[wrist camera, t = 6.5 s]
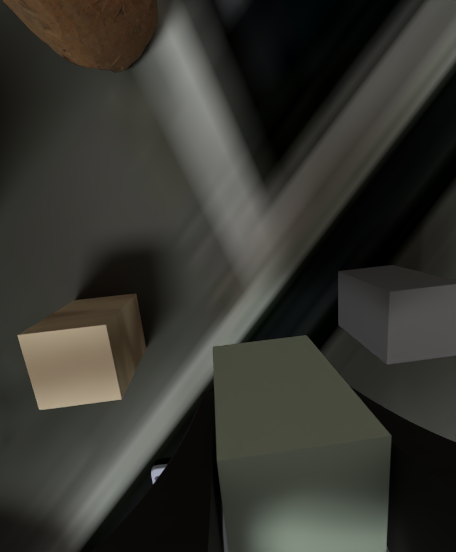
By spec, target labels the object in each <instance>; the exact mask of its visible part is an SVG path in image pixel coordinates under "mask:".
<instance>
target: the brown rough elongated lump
mask: <svg viewBox="0 0 456 552" xmlns="http://www.w3.org/2000/svg"><path fill="white" fill-rule="evenodd" d="M2 1H3V2H5V3H6V4H7V5H8V7H9V8H10V9H11V10H12V11H13V12H14V13H15V14H16V15H17V16H18V17H19V18H20V19H21V20H22V21H23V22H24V24H25V25H26V26H27V27H28V28H29V29H30V30H31V31H32V32H33V33H34V34H35V35H37V36H38V37H39V38H40V39H41V40H42V41H44V42H45V43H46V44H48V45H49V46H50V47H51V48H52V49H53V50H54V51H55V52H56V53H57V54H59V55H60V56H62V57H63V58H64V59H66V60H67V61H69V62H72V63H74V64H77V65H79V66H82V67H88V68H91V67H92V68H99V69H100V70H111V71H113V72H120V71H124V70H126V69H127V68H128V67H129V66H130V65H131V64H132V63H133V62H135V61H136V60H137V59H138V58H139V57H140V56H141V55H142V53H143V51H144V49H145V47H146V45H147V44H148V43H149V42H150V40H151V38H152V36H153V33H154V31H155V29H156V25H157V21H158V10H157V0H2Z"/></svg>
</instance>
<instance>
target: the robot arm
mask: <svg viewBox="0 0 456 552" xmlns="http://www.w3.org/2000/svg"><path fill="white" fill-rule="evenodd" d="M351 389H352V390H353V391H354V392H355V393H356V394H357V396H358V397H359V398H360V399H361V400H362V402H363V403H364V404H365V405H366V406H367V407H368V409H369V410H370V411H371V412H372V413H373V415H374V416H375V417H376V418H377V419H378V420H379V422H380V423H381V424H382V425H383V426H384V428H385V429H386V430H387V431H388V432H389V433H390V435H391V457H390V479H389V500H388V522H387V547H388V549H389V551H390V552H456V442H454V441H451V440H449V439H446V438H444V437H442V436H439V435H437V434H435V433H433V432H430V431H428V430H426V429H424V428H422V427H420V426H418V425H416V424H414V423H412V422H410V421H408V420H406V419H404V418H402V417H400V416H398V415H397V414H395V413H393V412H391V411H389V410H388V409H386V408H384V407H382V406H381V405H379V404H377V403H376V402H374V401H372V400H371V399H369V398H367V397H366V396H364V395H363V394H361V393H359V392H358V391H356V390H355V389H353V388H352V387H351ZM151 476H152V481H153V485H152V487H151V488H150V489H149V490H148V492H147V493H146V494H145V495H144V497H143V498H142V499H141V500H140V501H139V503H138V504H137V505H136V506H135V507H134V508H133V510H132V511H131V512H130V513H129V514H128V515H127V517H126V518H125V519H124V520H123V521H122V522H121V523H120V524H119V525H118V526H117V527H116V528H115V529H114V530H113V531H112V532H111V533H110V534H109V535H108V536H107V537H106V538H105V539H104V540H103V541H102V542H101V543H100V544H99V545H98V546H97V547H96V548H95V549H94V550H93V551H92V552H228V545H227V537H226V529H225V521H224V514H223V506H222V498H221V490H220V482H219V474H218V466H217V452H216V423H215V395H214V391H211V392H203V394H202V395H201V398H200V401H199V404H198V406H197V409H196V412H195V414H194V416H193V418H192V421H191V423H190V425H189V427H188V429H187V431H186V433H185V435H184V437H183V439H182V440H181V442H180V444H179V446H178V448H177V450H176V451H175V453H174V455H173V456H172V458H171V459H170V461H169V462H168V464H162V465H156V466H154V467H153V468H152V471H151ZM157 476H159V477H157Z"/></svg>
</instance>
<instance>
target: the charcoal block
mask: <svg viewBox="0 0 456 552" xmlns="http://www.w3.org/2000/svg"><path fill="white" fill-rule="evenodd" d="M338 325H339V326H340V327H341V328H342V329H344V330H345V331H346V332H347V333H349V334H350V335H351V336H352V337H354V338H355V339H356V340H357V341H358V342H360V343H361V344H362V345H363V346H365V347H366V348H367V349H368V350H370V351H371V352H372V353H373V354H374V355H376V356H377V357H378V358H379V359H381V360H382V361H383V362H384V363H385V364H387V365H388V364H395V363H403V362H411V361H418V360H426V359H434V358H441V357H449V356H456V280H453V279H449V278H445V277H440V276H436V275H432V274H428V273H424V272H420V271H416V270H412V269H408V268H404V267H400V266H396V265H389V266H380V267H371V268H362V269H353V270H344V271H338Z"/></svg>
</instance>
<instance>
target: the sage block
mask: <svg viewBox="0 0 456 552" xmlns="http://www.w3.org/2000/svg"><path fill="white" fill-rule="evenodd" d="M213 367H214V395H215V423H216V452H217V466H218V474H219V482H220V490H221V498H222V506H223V514H224V521H225V529H226V537H227V545H228V552H386V544H387V522H388V500H389V479H390V457H391V435H390V433H389V432H388V431H387V430H386V429H385V428H384V426H383V425H382V424H381V423H380V422H379V420H378V419H377V418H376V417H375V416H374V415H373V413H372V412H371V411H370V410H369V409H368V407H367V406H366V405H365V404H364V403H363V402H362V400H361V399H360V398H359V397H358V396H357V394H356V393H355V392H354V391H353V390H352V389H351V387H350V386H349V385H348V384H347V383H346V381H345V380H344V379H343V378H342V377H341V376H340V374H339V373H338V372H337V371H336V370H335V368H334V367H333V366H332V365H331V364H330V363H329V361H328V360H327V359H326V358H325V357H324V355H323V354H322V353H321V352H320V351H319V350H318V348H317V347H316V346H315V345H314V344H313V343H312V341H311V340H310V339H309V338H308V337H307V335H305V336H297V337H289V338H281V339H272V340H264V341H256V342H248V343H240V344H232V345H224V346H215V347H213Z"/></svg>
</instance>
